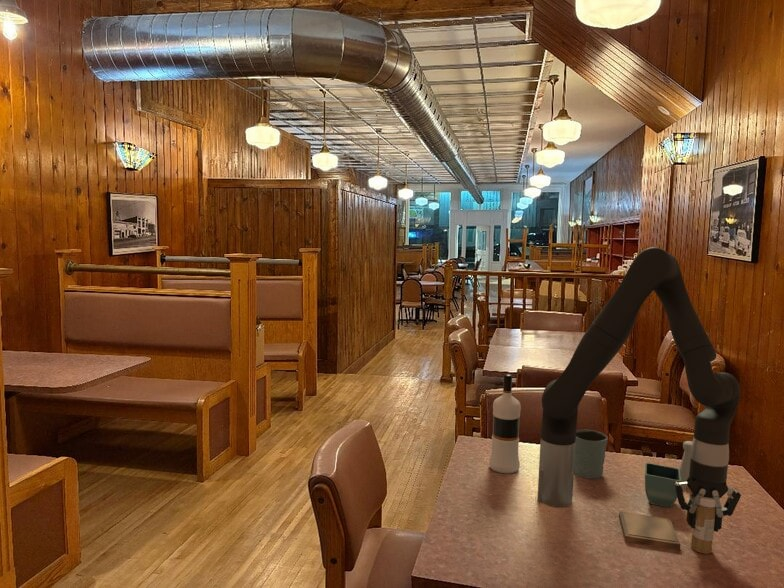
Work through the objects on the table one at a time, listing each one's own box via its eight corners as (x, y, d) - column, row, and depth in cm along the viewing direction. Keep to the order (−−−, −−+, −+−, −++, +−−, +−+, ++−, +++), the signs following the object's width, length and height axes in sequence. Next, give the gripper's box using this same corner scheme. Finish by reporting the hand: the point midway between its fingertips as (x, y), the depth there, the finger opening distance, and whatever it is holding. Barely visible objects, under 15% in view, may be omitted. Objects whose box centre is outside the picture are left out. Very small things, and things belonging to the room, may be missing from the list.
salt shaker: (703, 489, 160) (707, 446, 159) (683, 489, 161) (686, 446, 159) (692, 480, 166) (696, 438, 165) (673, 480, 166) (676, 438, 165)
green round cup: (570, 476, 168) (572, 438, 166) (570, 463, 177) (572, 427, 176) (606, 481, 165) (609, 442, 163) (604, 467, 174) (606, 431, 173)
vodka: (484, 463, 176) (487, 371, 173) (511, 460, 178) (515, 370, 175) (496, 476, 167) (500, 379, 164) (524, 473, 169) (529, 377, 166)
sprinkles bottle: (686, 544, 132) (690, 490, 131) (704, 543, 133) (708, 490, 131) (698, 555, 128) (703, 500, 126) (717, 554, 128) (722, 499, 127)
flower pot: (677, 498, 155) (679, 468, 154) (678, 513, 147) (681, 481, 146) (642, 492, 158) (645, 462, 157) (642, 505, 151) (644, 474, 149)
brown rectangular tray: (624, 541, 133) (625, 535, 133) (618, 516, 144) (619, 510, 144) (679, 550, 130) (680, 543, 130) (669, 524, 141) (669, 518, 141)
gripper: (738, 455, 129) (732, 524, 131) (671, 448, 133) (666, 515, 135) (750, 469, 122) (742, 542, 124) (678, 460, 126) (673, 531, 128)
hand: (703, 527), depth 130 cm, fingers closed on sprinkles bottle, 4 cm apart
